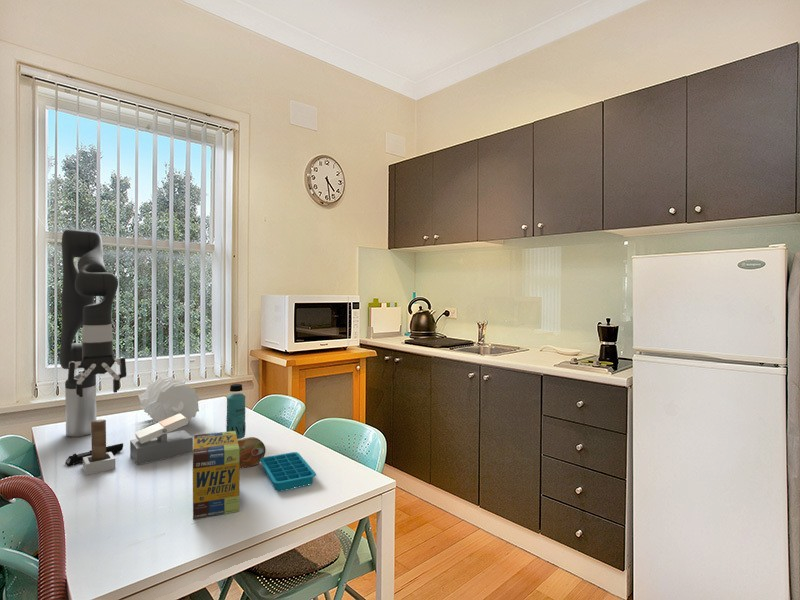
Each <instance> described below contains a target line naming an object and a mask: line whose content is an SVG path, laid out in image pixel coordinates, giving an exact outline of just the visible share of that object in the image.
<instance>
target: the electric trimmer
mask: <svg viewBox="0 0 800 600" xmlns="http://www.w3.org/2000/svg"><path fill="white" fill-rule="evenodd" d="M123 448H124V443H123V442H122V443H118V444H113V445H107V446H106V453H107V452H112V454H113V455H114V454H116V453H119V452H121V451H123ZM87 456H92V449H91V450H89V451H87V452H81V453H73V454H72V455H69V456H68V457H67V458H66V460H65V462H64V464H65V466H67V467H73V466H74V465H75V464H80V463H83V457H87Z"/></svg>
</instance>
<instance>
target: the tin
mask: <svg viewBox="0 0 800 600" xmlns="http://www.w3.org/2000/svg"><path fill="white" fill-rule="evenodd" d="M237 440H238V445H239V454H240V464H239V469H243V468H242V467H245V468H249V467H248V466H251V467H254V466H253V465H255V466H257V465H258V464H260V463H261V461H260V459H261V458H263V457H266V456H265V455H266V446H265V444H264V442H263V441H262V440H261V439H259V438H258V437H255V436H250V437H243V438H241V439H237Z"/></svg>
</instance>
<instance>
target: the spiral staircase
mask: <svg viewBox="0 0 800 600" xmlns="http://www.w3.org/2000/svg"><path fill="white" fill-rule="evenodd" d="M137 396H138V398H139V402H140V403H141V405H140V406H139V407H140V409H143V410H144V411H143V412H144V413H146V414H147V416H149V417H150V418H151V419H152V422H154V423H159V422H160V421H162V420H165V419H167V418H170V417H172V416H174V415H177V414H179V413H180V414H182V415H183V416H184V417H186V418H187V422H188V423H189V422H190V420H191V419H192V418H196V416H197V412H200V409H199V407H200V406H199V402H200V400H201V398H200V397H199V396H198V395H197V393H196V388H194V387H193V388H192V387H190V386H188V385H187V384H186V382H185V381H182V380H179V379H176V378H174V376H167V377H164V378H162V376H159V377H158V378H157V379H155V380H154V381H153V382H151V383H148V385H147V387H146V389H145V391H144V393H141V394H138V395H137ZM184 426H186V425H184Z"/></svg>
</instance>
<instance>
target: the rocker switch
mask: <svg viewBox="0 0 800 600" xmlns="http://www.w3.org/2000/svg"><path fill="white" fill-rule="evenodd" d="M188 424H189V421H188V422H187V418H186V417H184V416H183V415H182V414H180V413H179V414H177V415H174V416H172V417H170V418H167V419H165V420H162V421H160V422H159V423H158V422H155V423H154V424H152V425H150V426H147V427H144V428H143V429H142V428H141V429H140V430H137V431H136V432H134V434H135V437H136V438H135V439H138V440H139V442H140V443H141V444H143V443H145V442H147V441H150V440H152V439H154V438H156V437H159V436H161V435H163V434H166V433H171V432H174V430H177V429H179V428H182V427H183V426H184V425H185V426H186V425H188Z"/></svg>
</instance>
